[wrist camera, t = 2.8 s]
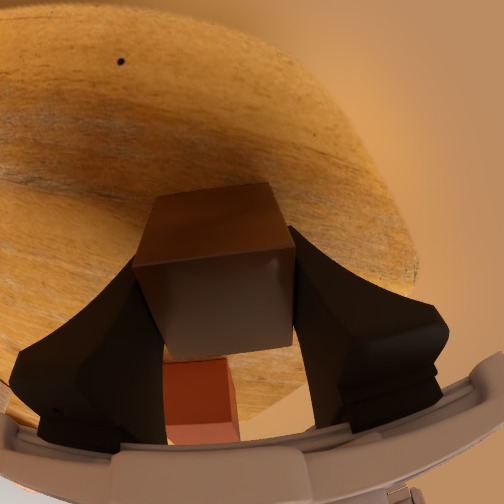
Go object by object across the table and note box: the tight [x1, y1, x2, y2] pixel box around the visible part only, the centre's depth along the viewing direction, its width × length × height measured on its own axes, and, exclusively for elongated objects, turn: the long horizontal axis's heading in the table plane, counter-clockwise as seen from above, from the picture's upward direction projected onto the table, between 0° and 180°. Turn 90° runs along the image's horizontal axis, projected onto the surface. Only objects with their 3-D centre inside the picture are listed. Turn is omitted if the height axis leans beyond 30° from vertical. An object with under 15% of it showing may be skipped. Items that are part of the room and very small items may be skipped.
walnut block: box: [132, 183, 295, 359], centre depth 11 cm, size 4×4×4 cm
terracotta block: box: [163, 359, 241, 445], centre depth 17 cm, size 4×4×4 cm
